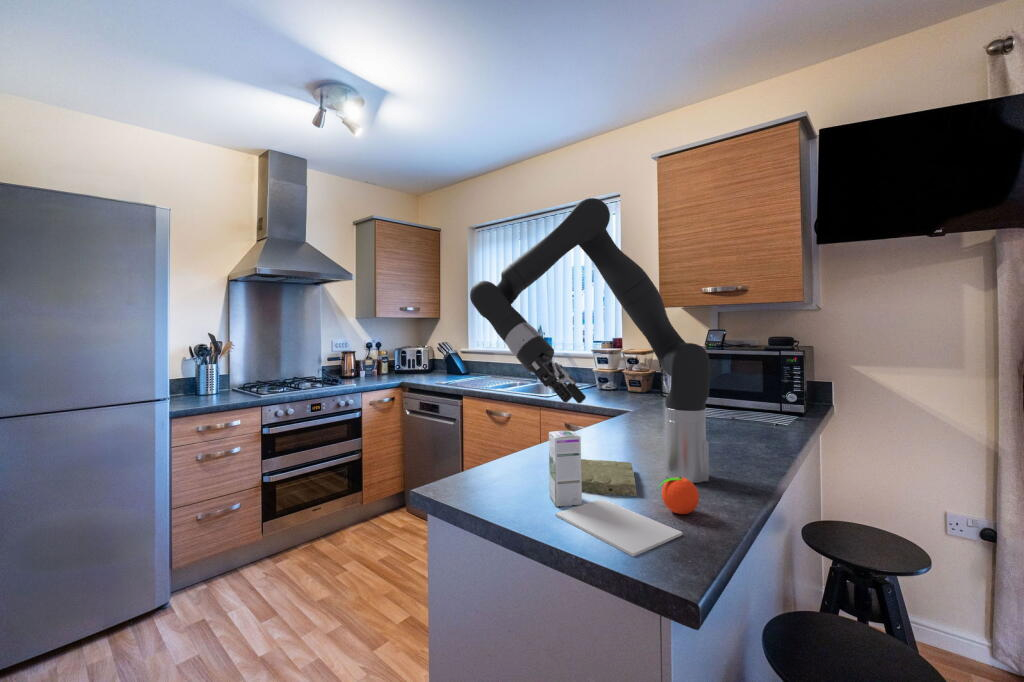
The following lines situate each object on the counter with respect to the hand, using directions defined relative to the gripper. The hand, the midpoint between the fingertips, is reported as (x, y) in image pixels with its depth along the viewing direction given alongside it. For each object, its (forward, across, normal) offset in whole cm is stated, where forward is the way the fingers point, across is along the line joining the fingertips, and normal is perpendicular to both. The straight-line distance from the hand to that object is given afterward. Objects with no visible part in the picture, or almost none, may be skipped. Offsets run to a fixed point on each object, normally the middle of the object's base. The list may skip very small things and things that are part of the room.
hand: (576, 400), depth 90 cm
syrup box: (+13, +3, +17) cm, 22 cm away
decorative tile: (+13, +19, +15) cm, 27 cm away
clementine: (+28, +8, +2) cm, 30 cm away
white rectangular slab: (+23, -3, +9) cm, 25 cm away
